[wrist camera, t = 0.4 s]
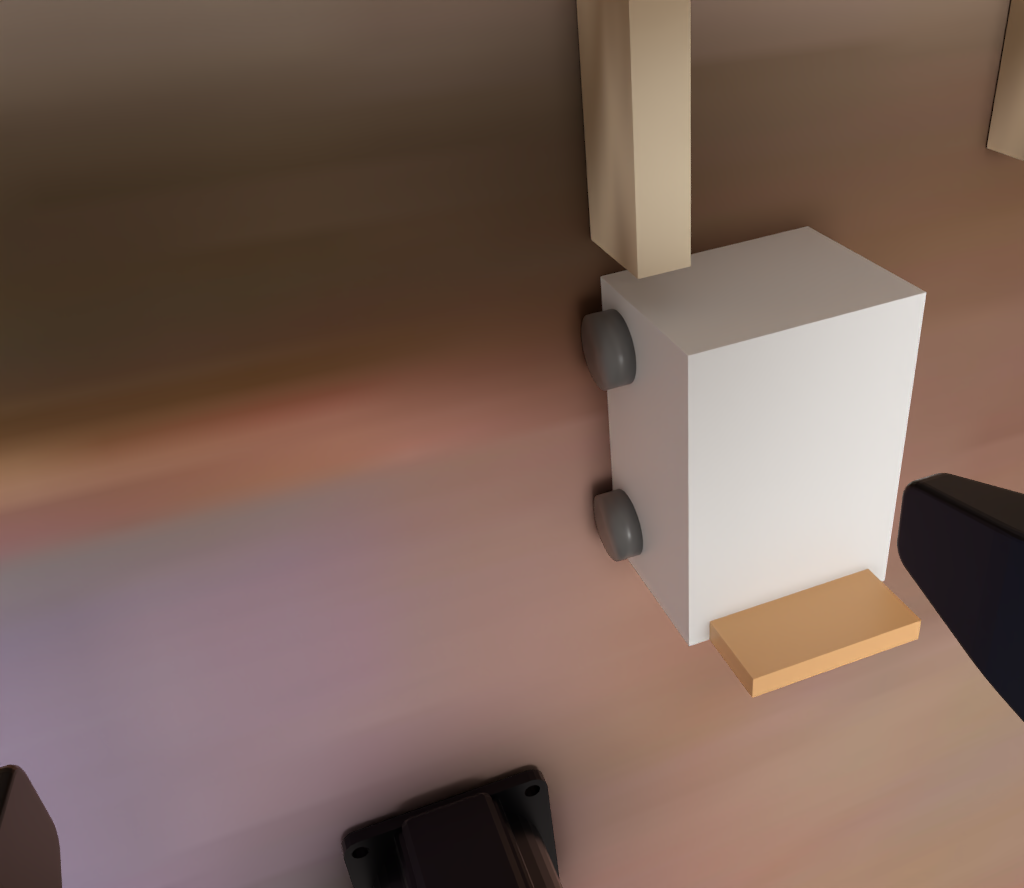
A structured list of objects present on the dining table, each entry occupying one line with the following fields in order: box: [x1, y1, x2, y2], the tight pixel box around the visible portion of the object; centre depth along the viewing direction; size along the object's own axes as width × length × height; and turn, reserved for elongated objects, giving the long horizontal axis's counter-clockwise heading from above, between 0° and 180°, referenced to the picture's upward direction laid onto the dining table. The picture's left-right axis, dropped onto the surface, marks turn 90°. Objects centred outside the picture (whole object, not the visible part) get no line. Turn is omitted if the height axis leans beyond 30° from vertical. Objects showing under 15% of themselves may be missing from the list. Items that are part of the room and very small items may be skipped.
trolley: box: [581, 226, 926, 698], centre depth 23 cm, size 8×7×6 cm
